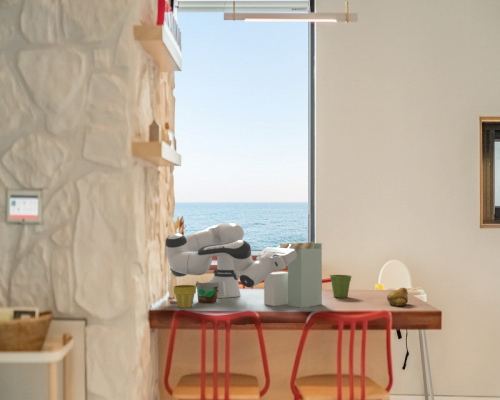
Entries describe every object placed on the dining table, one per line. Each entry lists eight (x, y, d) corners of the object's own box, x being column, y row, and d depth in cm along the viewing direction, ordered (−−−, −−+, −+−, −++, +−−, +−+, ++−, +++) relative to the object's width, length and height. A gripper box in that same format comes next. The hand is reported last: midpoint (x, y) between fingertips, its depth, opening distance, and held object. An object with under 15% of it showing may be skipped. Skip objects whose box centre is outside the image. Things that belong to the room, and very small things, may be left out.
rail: (284, 250, 238) (284, 243, 238) (280, 249, 240) (280, 243, 240) (314, 248, 250) (314, 242, 250) (309, 248, 253) (309, 241, 253)
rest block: (274, 306, 244) (273, 274, 244) (264, 304, 249) (264, 273, 250) (292, 303, 252) (291, 272, 252) (282, 301, 257) (282, 271, 258)
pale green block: (301, 307, 240) (301, 244, 240) (288, 305, 246) (287, 243, 247) (321, 304, 249) (321, 243, 249) (308, 302, 255) (308, 242, 256)
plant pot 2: (356, 298, 268) (356, 276, 268) (336, 299, 264) (336, 277, 264) (344, 294, 279) (344, 274, 279) (325, 296, 275) (325, 274, 275)
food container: (191, 302, 253) (191, 282, 254) (196, 300, 259) (196, 281, 259) (213, 304, 249) (214, 283, 249) (219, 302, 255) (219, 282, 255)
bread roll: (408, 307, 240) (408, 290, 241) (387, 306, 243) (387, 289, 243) (407, 303, 253) (407, 286, 253) (387, 302, 255) (386, 286, 256)
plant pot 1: (175, 304, 248) (175, 284, 248) (197, 305, 247) (197, 284, 248) (171, 308, 237) (171, 287, 238) (194, 308, 237) (194, 287, 237)
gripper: (256, 265, 242) (275, 250, 250) (287, 269, 226) (305, 252, 234) (251, 254, 240) (270, 239, 248) (281, 257, 225) (301, 240, 233)
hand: (288, 245), depth 241 cm, fingers closed on rail, 3 cm apart
